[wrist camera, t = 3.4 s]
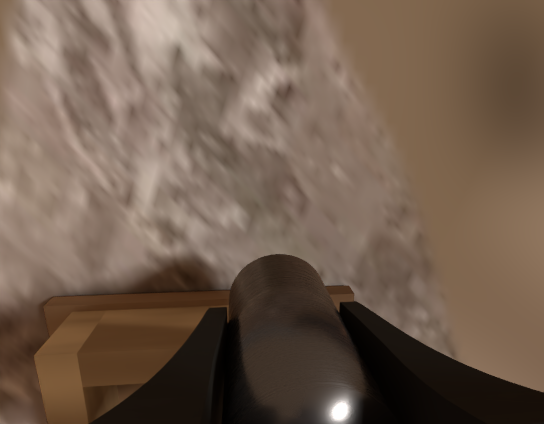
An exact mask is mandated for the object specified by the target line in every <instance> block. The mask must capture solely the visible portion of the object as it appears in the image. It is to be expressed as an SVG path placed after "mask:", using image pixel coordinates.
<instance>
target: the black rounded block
mask: <svg viewBox="0 0 544 424" xmlns="http://www.w3.org/2000/svg"><path fill="white" fill-rule="evenodd" d="M222 424H397V421H396V420H395V418H394V416H393V414H392V412H391V410H390V408H389V406H388V404H387V403H386V401H385V399H384V397H383V395H382V393H381V391H380V389H379V387H378V386H377V384H376V382H375V380H374V378H373V376H372V374H371V372H370V370H369V368H368V367H367V365H366V363H365V361H364V359H363V357H362V355H361V353H360V351H359V350H358V348H357V346H356V344H355V342H354V340H353V338H352V336H351V334H350V332H349V331H348V329H347V327H346V325H345V323H344V321H343V319H342V317H341V315H340V314H339V312H338V310H337V308H336V306H335V304H334V302H333V300H332V298H331V296H330V295H329V293H328V291H327V289H326V287H325V285H324V283H323V281H322V279H321V278H320V276H319V274H318V273H317V271H316V270H315V269H314V268H313V267H312V266H311V265H310V264H308V263H307V262H305V261H304V260H302V259H300V258H298V257H294V256H291V255H285V254H275V255H268V256H264V257H261V258H259V259H257V260H255V261H253V262H251V263H250V264H248V265H247V266H246V267H244V268H243V269H242V270H241V271H240V273H239V274H238V275H237V277H236V278H235V280H234V282H233V284H232V286H231V289H230V294H229V307H228V326H227V343H226V359H225V376H224V393H223V410H222Z"/></svg>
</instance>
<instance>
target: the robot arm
mask: <svg viewBox="0 0 544 424" xmlns="http://www.w3.org/2000/svg"><path fill="white" fill-rule="evenodd" d="M339 314H340V315H341V317H342V319H343V321H344V323H345V325H346V327H347V329H348V331H349V332H350V334H351V336H352V338H353V340H354V342H355V344H356V346H357V348H358V350H359V351H360V353H361V355H362V357H363V359H364V361H365V363H366V365H367V367H368V368H369V370H370V372H371V374H372V376H373V378H374V380H375V382H376V384H377V386H378V387H379V389H380V391H381V393H382V395H383V397H384V399H385V401H386V403H387V404H388V406H389V408H390V410H391V412H392V414H393V416H394V418H395V420H396V421H397V424H544V392H540V391H536V390H533V389H530V388H527V387H524V386H521V385H518V384H515V383H512V382H508V381H506V380H503V379H500V378H497V377H495V376H492V375H489V374H487V373H484V372H482V371H479V370H477V369H475V368H472V367H469V366H467V365H465V364H463V363H460V362H458V361H456V360H454V359H452V358H450V357H448V356H446V355H444V354H442V353H440V352H438V351H436V350H434V349H432V348H430V347H428V346H426V345H424V344H423V343H421V342H419V341H418V340H416V339H414V338H412V337H411V336H409V335H407V334H406V333H404V332H402V331H401V330H399V329H398V328H396V327H395V326H393V325H392V324H390V323H389V322H387V321H386V320H384V319H383V318H381V317H380V316H378V315H377V314H375V313H374V312H372V311H371V310H369V309H368V308H366V307H365V306H363V305H362V304H360V303H358V302H356V301H353V302H340V306H339ZM227 326H228V322H227V307H215V308H209V309H208V310H207V311H206V312H205V314H204V316H203V317H202V319H201V321H200V322H199V324H198V325H197V326H196V328H195V329H194V331H193V332H192V333H191V335H190V336H189V337H188V339H187V340H186V341H185V343H184V344H183V345H182V346H181V347H180V349H179V350H178V351H177V352H176V353H175V354H174V355H173V357H172V358H171V359H170V360H169V361H168V362H167V363H166V364H165V365H164V366H163V367H162V368H161V369H160V370H159V371H158V372H157V373H156V374H155V375H154V376H153V377H152V378H151V379H150V380H149V381H147V382H146V383H145V384H144V385H142V386H141V387H140V388H139V389H137V390H136V391H135V392H134V393H132V394H131V395H130V396H129V397H127V398H126V399H125V400H123V401H122V402H121V403H119V404H118V405H116V406H115V407H114V408H112V409H111V410H109V411H108V412H106V413H105V414H103V415H102V416H100V417H99V418H97V419H95V420H94V421H92V422H91V423H89V424H222V410H223V393H224V376H225V359H226V343H227Z"/></svg>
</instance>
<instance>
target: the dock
mask: <svg viewBox="0 0 544 424" xmlns="http://www.w3.org/2000/svg"><path fill="white" fill-rule="evenodd" d="M325 287H326V289H327V291H328V293H329V295H330V296H331V298H332V300H333V302H334V304H335V306H336V308H337V310H338V312H339V306H340V302H353V301H354V293H353V291H352V290H351V288H350V287H349V286H325ZM229 294H230V290H221V291H195V292H169V293H142V294H116V295H90V296H64V297H53V298H52V299H51V300H50V301H48V302H47V303H46V304H45V305H44V306H43V308H44V313H45V318H46V323H47V329H48V334H49V339H48V340H47V341H46V342H45V343H44V344H43V346H42V347H41V348H40V349H39V350H38V351H37V352H36V354H35V355H34V360H35V365H36V370H37V374H38V379H39V384H40V389H41V394H42V398H43V403H44V408H45V413H46V418H47V422H48V424H89V423H91V422H92V421H94V420H95V419H97V418H99V417H100V416H102V415H103V414H105V413H106V412H108V411H109V410H111V409H112V408H114V407H115V406H116V405H118V404H119V403H121V402H122V401H123V400H125V399H126V398H127V397H129V396H130V395H131V394H132V393H134V392H135V391H136V390H137V389H139V388H140V387H141V386H142V385H144V384H145V383H146V382H147V381H149V380H150V379H151V378H152V377H153V376H154V375H155V374H156V373H157V372H158V371H159V370H160V369H161V368H162V367H163V366H164V365H165V364H166V363H167V362H168V361H169V360H170V359H171V358H172V357H173V355H174V354H175V353H176V352H177V351H178V350H179V349H180V347H181V346H182V345H183V344H184V343H185V341H186V340H187V339H188V337H189V336H190V335H191V333H192V332H193V331H194V329H195V328H196V326H197V325H198V324H199V322H200V321H201V319H202V317H203V316H204V314H205V312H206V311H207V310H208V309H209V308H215V307H227V322H228V307H229Z"/></svg>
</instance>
